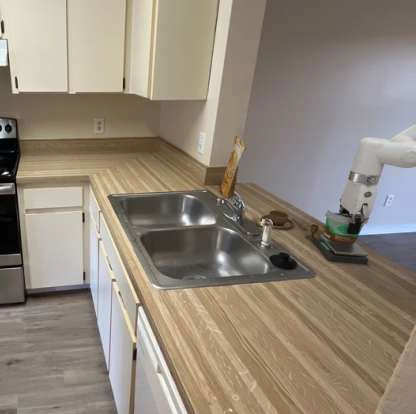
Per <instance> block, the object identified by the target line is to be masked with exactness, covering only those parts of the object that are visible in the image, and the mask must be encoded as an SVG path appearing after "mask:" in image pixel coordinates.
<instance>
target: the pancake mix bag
mask: <svg viewBox="0 0 416 414" xmlns="http://www.w3.org/2000/svg"><path fill="white" fill-rule="evenodd" d="M246 149H247V144H246V142H245V141H243V139H242V138H241V137H239V136H238V135H235V136H234V142H233V146H232V150H231V153H230V157H229V159H228V162H227V165H226V168H225V171H224V172H225V173H224V175H223V178H222V182H221V185H220V190H221V195H222V197H226V199H229V198H231V197H233V196H234V193H235V189H236V183H237V168H238V165H239V163H240V161H241V158H242V156H243V154H244V153H245V151H246Z"/></svg>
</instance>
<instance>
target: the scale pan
mask: <svg viewBox="0 0 416 414" xmlns="http://www.w3.org/2000/svg"><path fill="white" fill-rule="evenodd" d="M319 238H321V239H322V240H323V241H324V242H325V243H326V244H327V245H328V246H329V247H330V248H331V250H332V251H333V252H334V253H335V254H343V255H355V256H366V257H367V258H368V257H369V253H368V252H367V251H365V249H363V248H362V247H361V246H360V245H359V244H358V243H357V242H356V241H355V243H354V244H351V245H344V244H339V243H335V242H332V241H330V240H328V239H326V238H325V237H324V234H320V235H319Z"/></svg>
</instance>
